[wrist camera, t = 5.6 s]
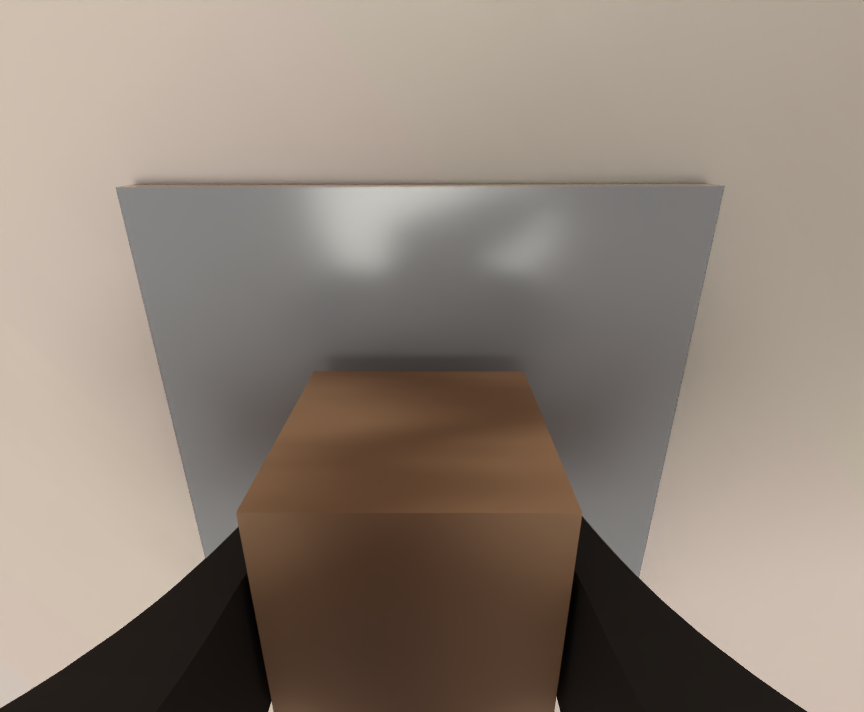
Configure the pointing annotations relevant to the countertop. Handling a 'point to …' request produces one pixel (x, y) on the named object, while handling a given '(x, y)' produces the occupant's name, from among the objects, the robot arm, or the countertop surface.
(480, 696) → the walnut cube
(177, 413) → the slate board
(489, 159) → the countertop surface
